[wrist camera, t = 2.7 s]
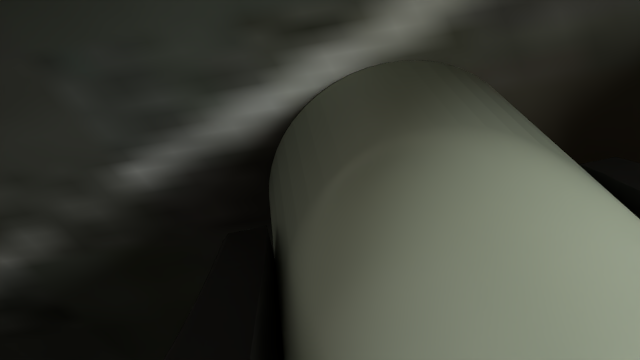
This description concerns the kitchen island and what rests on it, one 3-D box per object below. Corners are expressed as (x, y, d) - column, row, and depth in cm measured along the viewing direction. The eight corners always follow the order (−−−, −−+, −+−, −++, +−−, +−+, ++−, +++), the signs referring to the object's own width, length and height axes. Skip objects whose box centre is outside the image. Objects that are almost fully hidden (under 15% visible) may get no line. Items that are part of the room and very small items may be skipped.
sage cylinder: (293, 306, 12) (350, 760, 6) (243, 90, 9) (250, 499, 3) (518, 260, 12) (797, 656, 6) (529, 35, 10) (1026, 334, 4)
